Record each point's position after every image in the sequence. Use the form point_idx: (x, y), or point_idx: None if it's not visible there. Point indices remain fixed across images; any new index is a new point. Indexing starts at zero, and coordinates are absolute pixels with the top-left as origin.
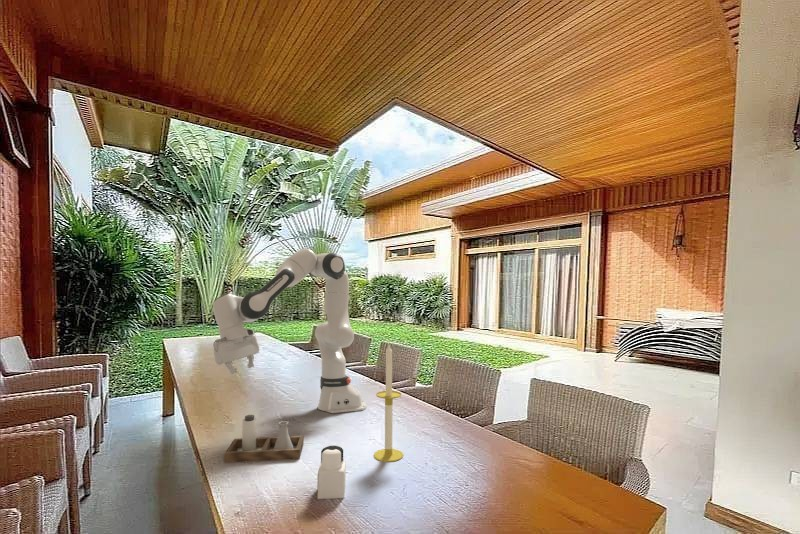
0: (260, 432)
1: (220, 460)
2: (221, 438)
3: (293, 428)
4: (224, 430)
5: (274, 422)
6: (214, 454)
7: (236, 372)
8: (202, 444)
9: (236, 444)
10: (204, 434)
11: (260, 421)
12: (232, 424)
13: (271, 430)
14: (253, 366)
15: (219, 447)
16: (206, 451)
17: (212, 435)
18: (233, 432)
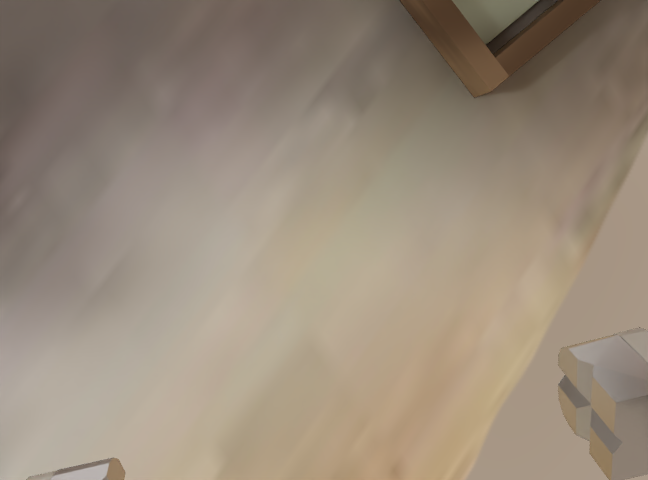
0: (221, 171)
1: (634, 3)
2: (424, 292)
3: (34, 35)
4: (329, 397)
5: (35, 249)
6: (598, 108)
7: (565, 348)
8: (541, 301)
9: (505, 47)
10: (438, 435)
11: (82, 347)
12: (231, 451)
13: (153, 138)
14: (45, 473)
15: (519, 176)
16: (594, 187)
17: (422, 381)
18: (320, 319)
